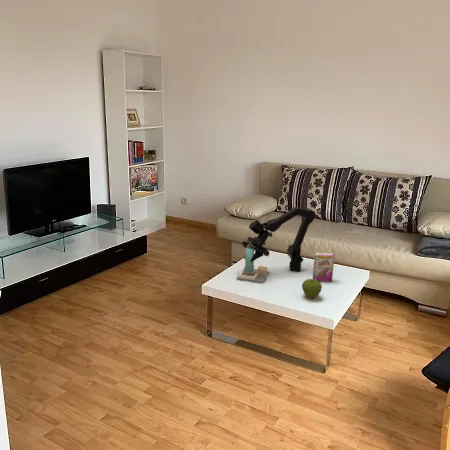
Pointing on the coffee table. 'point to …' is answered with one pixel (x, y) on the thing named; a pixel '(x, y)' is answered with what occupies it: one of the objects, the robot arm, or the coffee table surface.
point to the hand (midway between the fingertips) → (247, 260)
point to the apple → (311, 288)
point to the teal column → (249, 259)
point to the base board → (254, 275)
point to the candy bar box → (323, 267)
